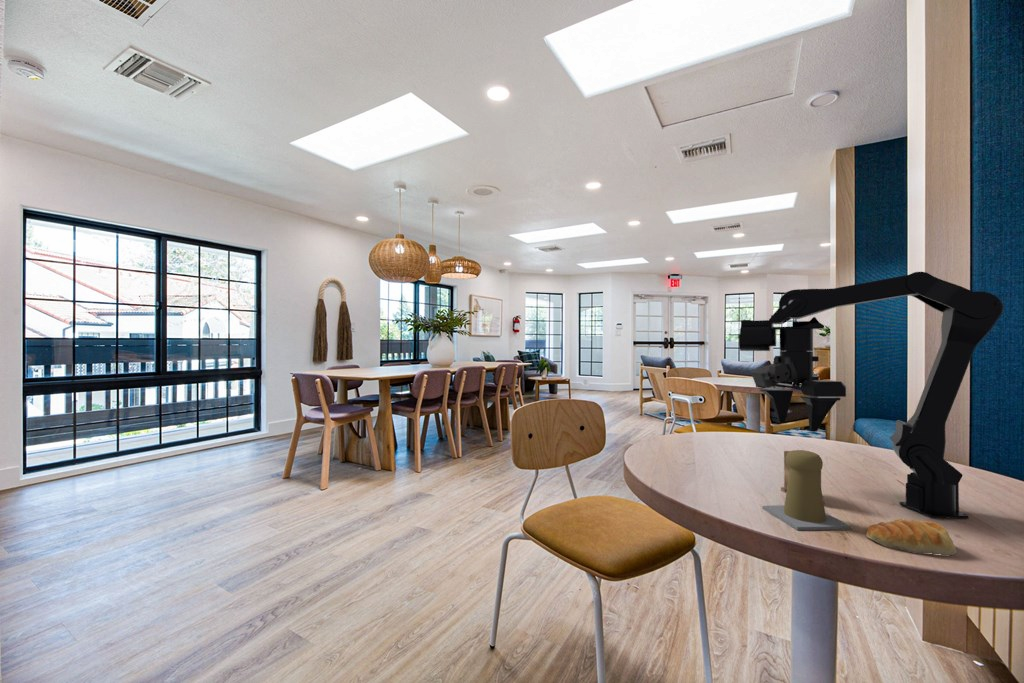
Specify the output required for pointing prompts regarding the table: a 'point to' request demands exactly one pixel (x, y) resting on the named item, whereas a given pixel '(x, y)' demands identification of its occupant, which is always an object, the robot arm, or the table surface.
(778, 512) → the coaster
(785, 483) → the screen
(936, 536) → the pastry
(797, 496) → the olive peg figure
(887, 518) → the table surface
